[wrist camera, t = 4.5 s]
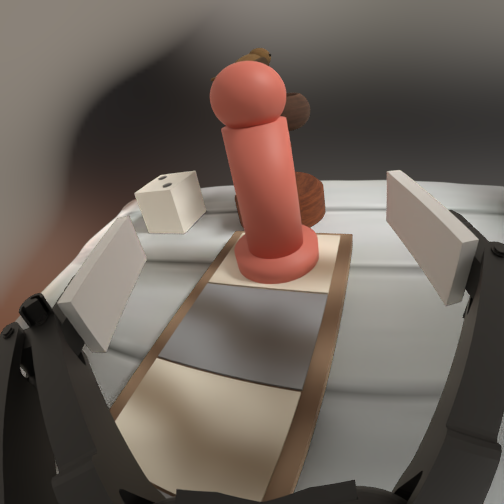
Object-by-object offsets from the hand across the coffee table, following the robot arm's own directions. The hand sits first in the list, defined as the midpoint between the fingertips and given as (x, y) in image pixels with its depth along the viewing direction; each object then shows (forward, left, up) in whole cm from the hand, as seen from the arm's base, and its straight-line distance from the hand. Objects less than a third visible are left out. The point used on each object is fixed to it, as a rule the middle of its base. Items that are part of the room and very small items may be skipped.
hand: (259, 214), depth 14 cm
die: (-17, -20, -10) cm, 28 cm away
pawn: (-8, -3, -8) cm, 12 cm away
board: (+4, -3, -10) cm, 11 cm away
